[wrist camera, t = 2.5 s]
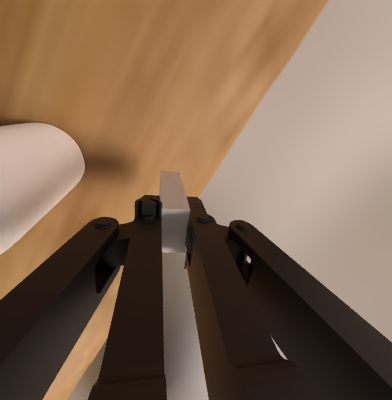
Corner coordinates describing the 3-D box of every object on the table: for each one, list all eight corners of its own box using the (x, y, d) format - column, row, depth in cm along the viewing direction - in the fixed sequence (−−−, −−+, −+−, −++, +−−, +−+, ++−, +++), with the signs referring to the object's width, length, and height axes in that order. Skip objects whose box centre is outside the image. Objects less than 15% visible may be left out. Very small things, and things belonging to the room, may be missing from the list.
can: (89, 191, 21) (15, 284, 10) (17, 189, 20) (-155, 291, 9) (82, 125, 18) (-31, 155, 7) (-2, 117, 17) (-282, 140, 6)
